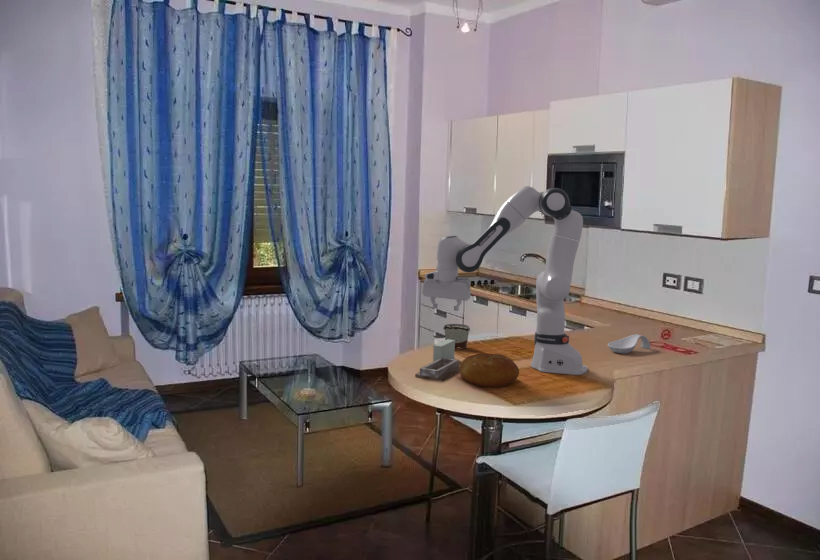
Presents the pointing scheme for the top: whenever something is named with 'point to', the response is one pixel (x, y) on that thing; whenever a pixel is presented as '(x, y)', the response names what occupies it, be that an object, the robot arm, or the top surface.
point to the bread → (489, 370)
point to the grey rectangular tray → (439, 369)
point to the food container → (457, 334)
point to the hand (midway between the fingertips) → (445, 309)
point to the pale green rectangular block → (444, 350)
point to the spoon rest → (628, 344)
